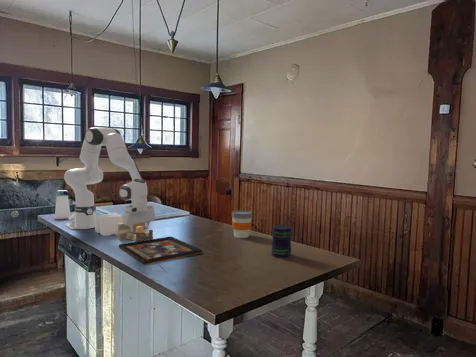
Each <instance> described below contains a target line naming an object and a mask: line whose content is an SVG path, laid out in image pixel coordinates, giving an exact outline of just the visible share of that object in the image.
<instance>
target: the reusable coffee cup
mask: <svg viewBox="0 0 476 357" xmlns="http://www.w3.org/2000/svg"><path fill="white" fill-rule="evenodd" d="M252 217H253V212H252V211H250V210H245V209H244V210H241V209H240V210H239V209H238V210H232V212H231V218H232V220H231V225H232V229H233V236H234V238H237V239H246V238H249V236H250V230H251V229H252V228H251V227H252Z"/></svg>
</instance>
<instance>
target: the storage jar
mask: <svg viewBox="0 0 476 357" xmlns="http://www.w3.org/2000/svg"><path fill="white" fill-rule="evenodd" d="M292 230H293V229H292V226H291V225H288V224H274V225H272V230H271V237H272V244H271V256H272V257H273V258H276V259H289V258H291V256H292V243H291V242H292V241H291V240H292V237H293V236H292V234H293V231H292Z"/></svg>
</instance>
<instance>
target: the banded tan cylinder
mask: <svg viewBox="0 0 476 357" xmlns="http://www.w3.org/2000/svg"><path fill="white" fill-rule="evenodd" d="M136 233H140V237H143V233H144V232H143V226H137V227H136Z"/></svg>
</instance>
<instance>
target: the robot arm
mask: <svg viewBox="0 0 476 357" xmlns="http://www.w3.org/2000/svg"><path fill="white" fill-rule="evenodd" d="M102 146H105V148H106V150H107V156H108V158H109V160H110V163H112V164H113V165H115V166H117V167H119V168H122V169H124V170H126V171H128V173H129V176H130V177H131V181H130V182H128V183H125V184H122V185H121V186H120V187H119V190H118V195H119V197H120V199H121V200H123V201H131V204H128V205H126V206H125V207H124V208H123V211H124V212H123V215H122V216H123V224H124V225H127V226H128V225H129V227H130V229H131V232H135V229H133V227H132V226H133V224H138V223H144V222H145V226H144V227H145V228H144V229H145V230H148V229H149V225H150V223H151V222H154V221H155V220H156V214H155V207H154V206H153V205H151V204H150V205H148V199H147V198H148V197H147V196H148V194H149V187H148V185H147V181H145V180H144V179H143V177H142V174H141V171H140V170H139V167H138V164H137V163H136V162H135V160H134V159H133V158H132V157H131V155H130V154H129V152H128V149H127V146H126V143H125V141H124V138H123V136H122V134H121V132H120V131H119V130H118V129H117V128H113V127H112V128H111V127H89V128H88V129H87V130H86V131H85V134H84V140H83V143H82V145H81V150H80V154H79V159H80V162H81V163H82V164H84V167H79V168H71V169H67V170H66V171H65V173H64V175H63V179H64V182H65V183H66V185H68V186H70V187H71V189H72V190H73V193H74V196H75V206H74V211H73V213H71V214H70V215H71V216H70V218H68V222H67V223H65V226H66V227H67V228H69V229H71V230H88V229H93V228H94V229H95V217H96V216H97V215H98V214H97V213H96V211H95V210H96V207H95V206H96V205H95V195H94V192H92V191H91V190H89V189H88V187H87V185H96V184H99V183H102V181H103V179H104V172H103V170H102V169H100V167H99V158H100V154H101V150H102Z"/></svg>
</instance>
